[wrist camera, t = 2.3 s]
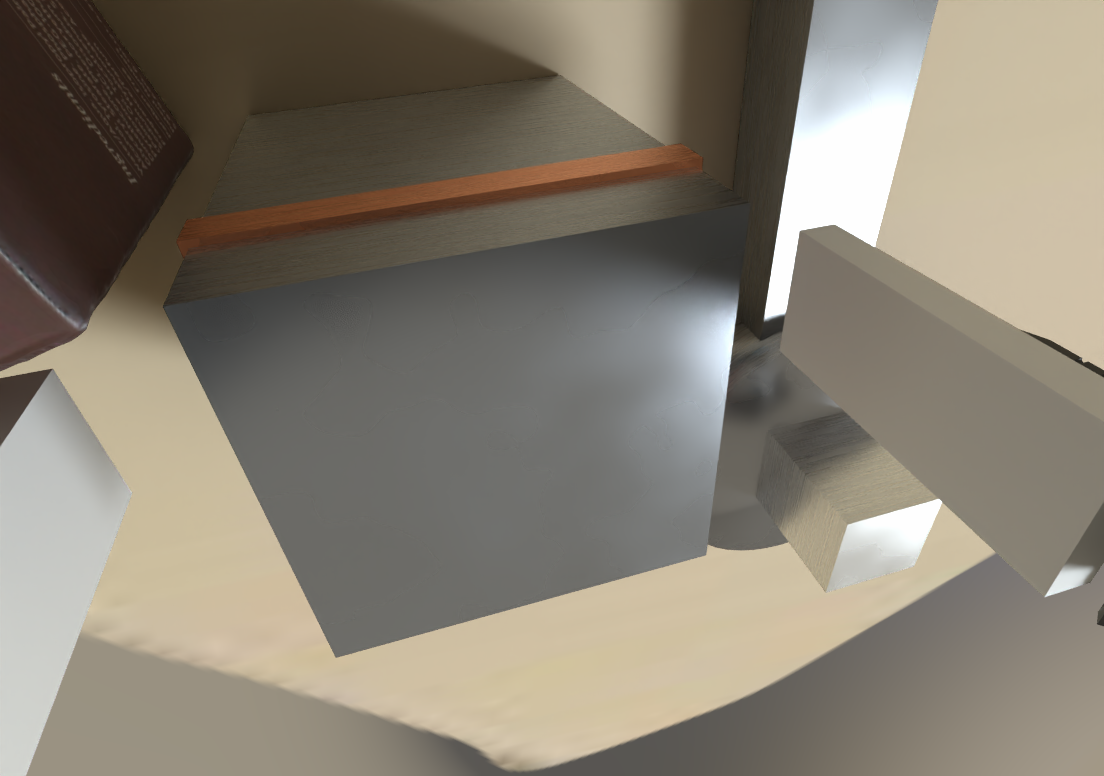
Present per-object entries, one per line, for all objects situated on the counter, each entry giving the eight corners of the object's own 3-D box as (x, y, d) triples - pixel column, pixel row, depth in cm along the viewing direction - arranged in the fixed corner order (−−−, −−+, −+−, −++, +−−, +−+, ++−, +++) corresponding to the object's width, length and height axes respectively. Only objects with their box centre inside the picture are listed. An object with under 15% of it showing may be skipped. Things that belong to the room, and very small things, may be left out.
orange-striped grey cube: (240, 111, 12) (147, 298, 6) (565, 69, 14) (759, 193, 7) (332, 382, 16) (331, 662, 10) (577, 332, 18) (710, 557, 11)
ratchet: (655, -864, 8) (1252, -2324, 3) (1175, -792, 9) (2210, -1670, 4) (632, 508, 23) (718, 678, 17) (833, 456, 24) (967, 600, 19)
